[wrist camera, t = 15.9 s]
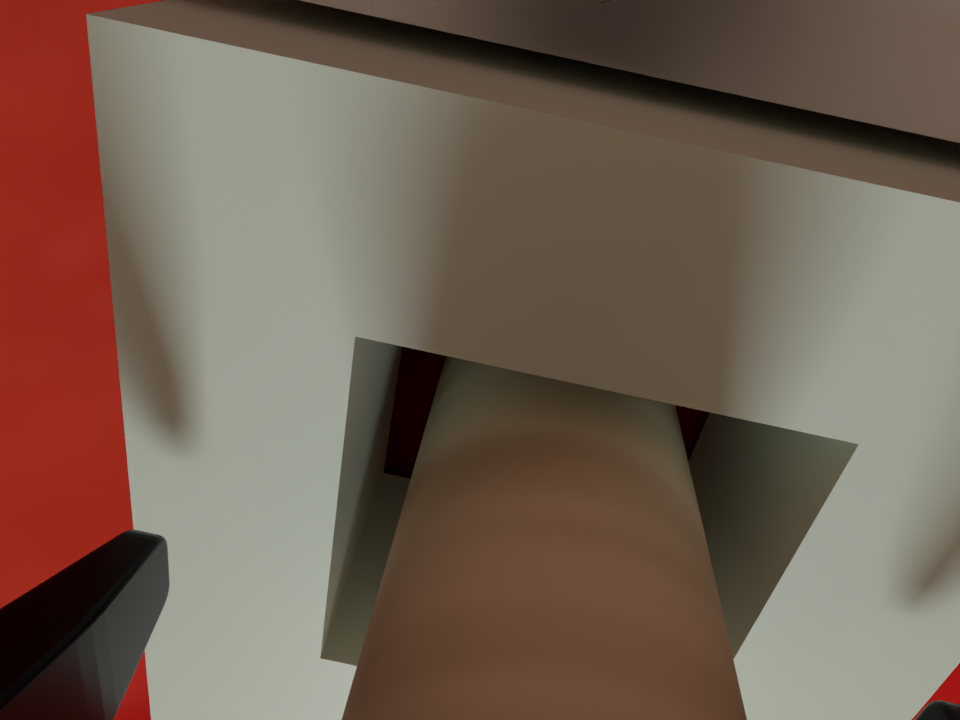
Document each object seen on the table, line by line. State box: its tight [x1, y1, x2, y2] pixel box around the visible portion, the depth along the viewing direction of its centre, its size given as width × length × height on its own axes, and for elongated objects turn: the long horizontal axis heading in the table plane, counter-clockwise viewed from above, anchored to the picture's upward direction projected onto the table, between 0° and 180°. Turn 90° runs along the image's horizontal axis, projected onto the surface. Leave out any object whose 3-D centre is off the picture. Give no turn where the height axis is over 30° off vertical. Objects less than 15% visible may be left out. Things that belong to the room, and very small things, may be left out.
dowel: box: [342, 356, 747, 720], centre depth 9 cm, size 4×4×9 cm
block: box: [86, 0, 960, 720], centre depth 11 cm, size 11×11×4 cm
